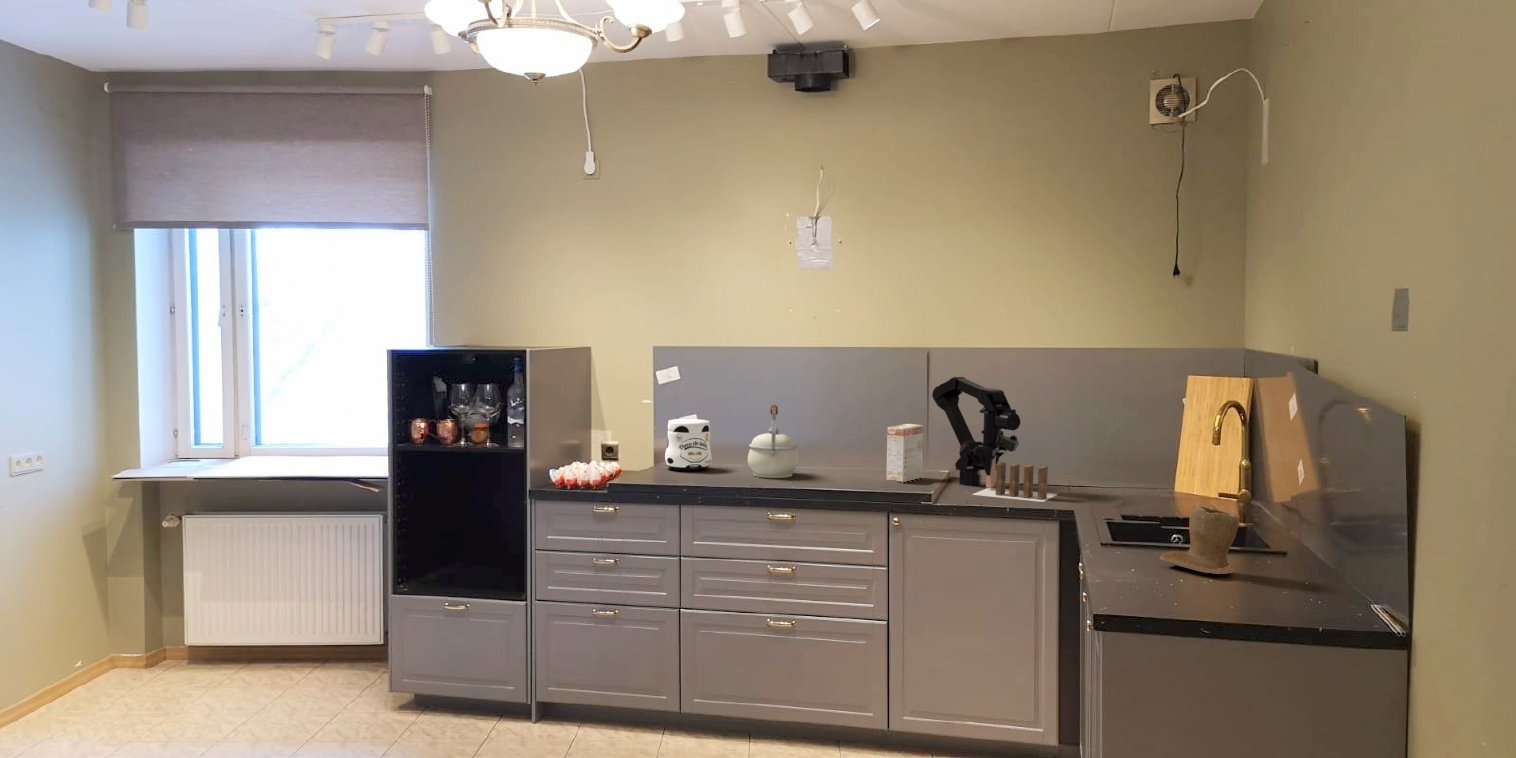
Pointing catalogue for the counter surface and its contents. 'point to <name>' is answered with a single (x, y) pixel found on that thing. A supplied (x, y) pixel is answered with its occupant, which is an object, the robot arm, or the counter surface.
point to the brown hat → (1207, 539)
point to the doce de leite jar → (688, 444)
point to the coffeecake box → (904, 452)
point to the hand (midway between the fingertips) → (990, 474)
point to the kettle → (773, 453)
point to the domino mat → (992, 492)
